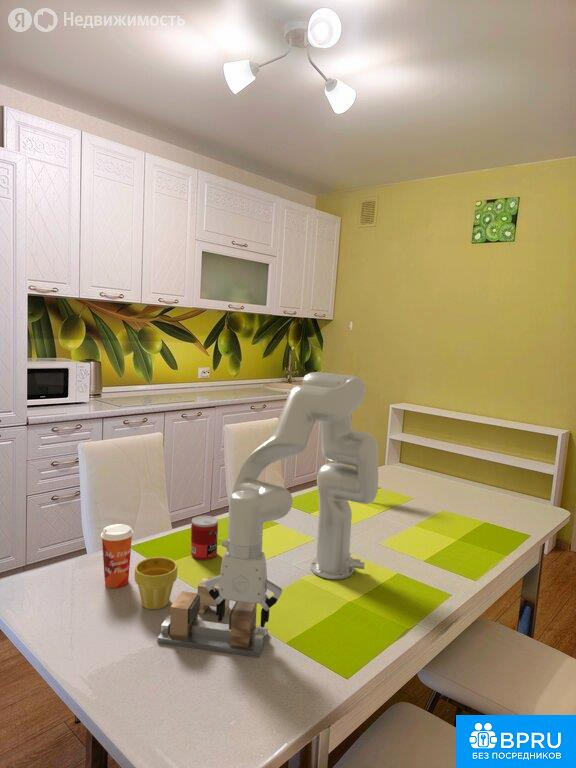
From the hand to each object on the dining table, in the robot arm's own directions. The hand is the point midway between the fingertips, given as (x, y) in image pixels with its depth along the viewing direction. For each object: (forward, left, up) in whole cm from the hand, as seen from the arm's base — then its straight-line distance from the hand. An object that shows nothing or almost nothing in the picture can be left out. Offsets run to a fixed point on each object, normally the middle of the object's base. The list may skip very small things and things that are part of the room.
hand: (242, 621), depth 119 cm
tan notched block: (+10, -11, -5) cm, 16 cm away
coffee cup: (+39, -18, -5) cm, 43 cm away
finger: (0, 0, -4) cm, 4 cm away
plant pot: (+25, -11, -5) cm, 28 cm away
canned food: (+22, -40, -5) cm, 46 cm away
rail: (+7, 0, -5) cm, 8 cm away
